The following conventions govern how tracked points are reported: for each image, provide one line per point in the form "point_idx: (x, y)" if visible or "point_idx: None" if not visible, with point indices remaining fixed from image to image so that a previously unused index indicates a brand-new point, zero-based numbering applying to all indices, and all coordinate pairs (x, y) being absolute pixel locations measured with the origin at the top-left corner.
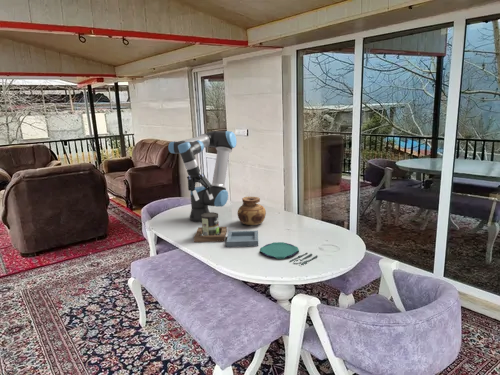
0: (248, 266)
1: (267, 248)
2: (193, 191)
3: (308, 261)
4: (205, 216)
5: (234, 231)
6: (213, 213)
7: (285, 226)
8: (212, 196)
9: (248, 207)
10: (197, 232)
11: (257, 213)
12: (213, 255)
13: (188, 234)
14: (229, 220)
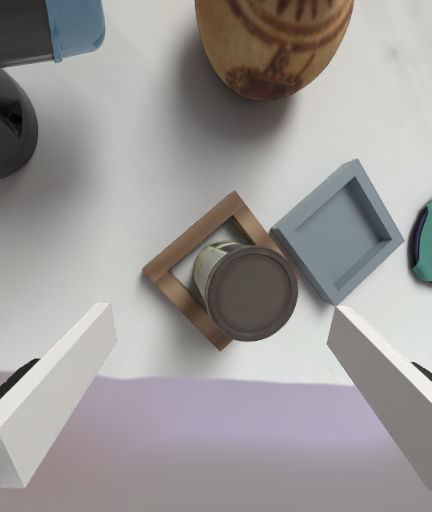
0: (426, 345)
1: (424, 248)
2: (27, 467)
3: None
4: (255, 329)
5: (297, 217)
6: (250, 262)
7: (373, 24)
8: (362, 325)
9: (313, 8)
10: (190, 312)
11: (343, 36)
12: (332, 362)
13: (134, 310)
14: (132, 64)
